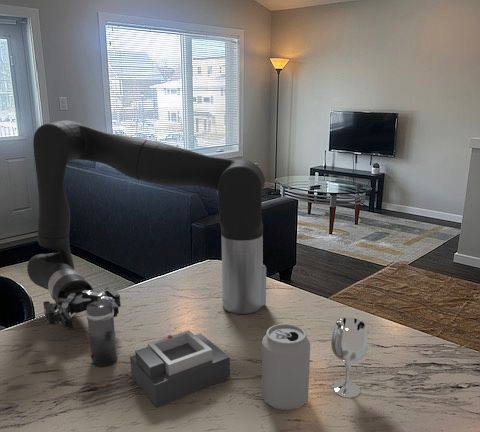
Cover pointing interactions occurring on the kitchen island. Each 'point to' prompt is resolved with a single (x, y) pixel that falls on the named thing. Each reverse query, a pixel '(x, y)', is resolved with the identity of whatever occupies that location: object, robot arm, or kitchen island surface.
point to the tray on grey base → (178, 366)
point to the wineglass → (348, 350)
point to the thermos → (102, 333)
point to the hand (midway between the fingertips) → (93, 318)
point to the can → (285, 366)
